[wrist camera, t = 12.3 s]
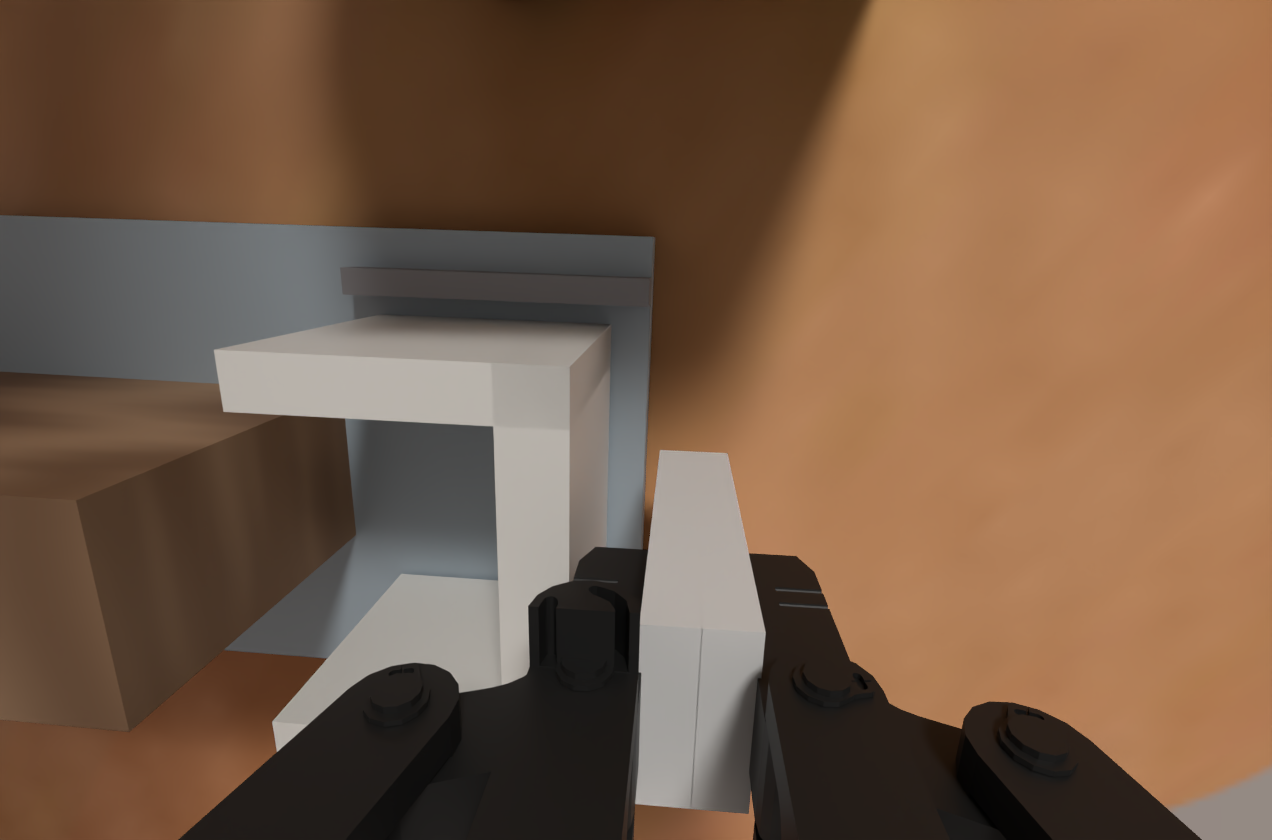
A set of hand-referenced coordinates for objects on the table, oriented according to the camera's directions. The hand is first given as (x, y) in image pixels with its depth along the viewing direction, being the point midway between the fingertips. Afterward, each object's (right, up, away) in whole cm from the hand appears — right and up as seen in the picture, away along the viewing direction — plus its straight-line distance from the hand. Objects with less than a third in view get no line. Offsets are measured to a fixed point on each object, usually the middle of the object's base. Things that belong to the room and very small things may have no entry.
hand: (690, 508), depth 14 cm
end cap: (-5, +1, +2) cm, 5 cm away
